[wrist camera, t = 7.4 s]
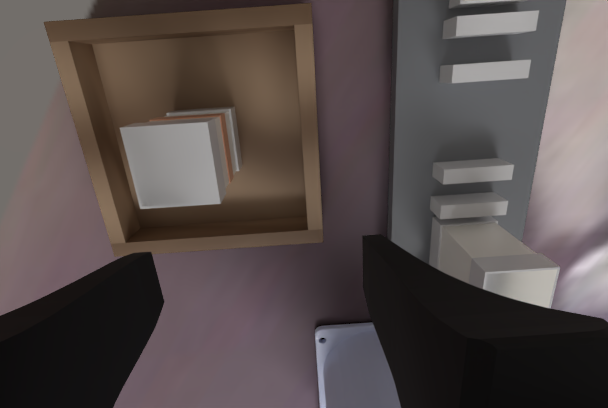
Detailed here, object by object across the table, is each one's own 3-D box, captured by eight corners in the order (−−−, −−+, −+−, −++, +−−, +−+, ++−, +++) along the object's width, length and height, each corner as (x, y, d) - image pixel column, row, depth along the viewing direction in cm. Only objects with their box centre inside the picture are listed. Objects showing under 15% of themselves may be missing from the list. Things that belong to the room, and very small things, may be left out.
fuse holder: (506, 267, 23) (530, 289, 20) (386, 275, 23) (396, 298, 20) (570, -109, 16) (619, -141, 13) (395, -96, 16) (413, -126, 13)
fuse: (480, 260, 21) (545, 327, 16) (428, 263, 21) (476, 331, 16) (486, 212, 20) (560, 267, 15) (432, 216, 20) (485, 272, 15)
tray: (320, 223, 21) (323, 242, 19) (134, 236, 21) (114, 256, 19) (309, 12, 17) (311, 3, 15) (77, 28, 17) (43, 21, 15)
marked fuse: (242, 165, 19) (220, 203, 14) (185, 169, 19) (140, 209, 14) (234, 106, 18) (207, 121, 12) (174, 110, 18) (119, 127, 12)
